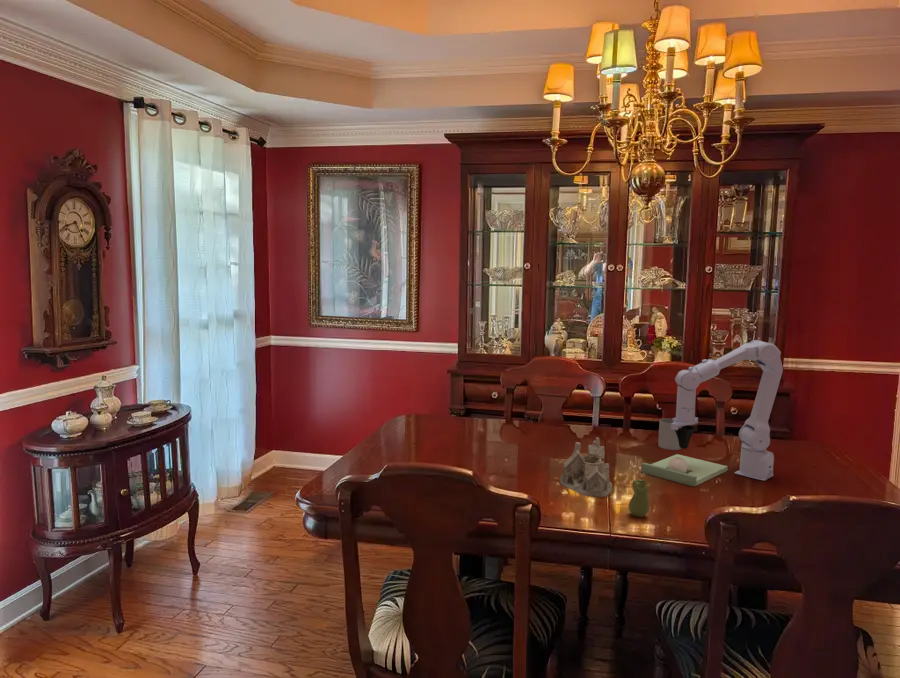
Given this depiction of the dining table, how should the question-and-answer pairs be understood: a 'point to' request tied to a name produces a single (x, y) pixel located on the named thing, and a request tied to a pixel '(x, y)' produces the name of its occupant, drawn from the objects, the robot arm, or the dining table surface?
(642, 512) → the pear
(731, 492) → the dining table surface
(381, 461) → the dining table surface
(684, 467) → the golf ball
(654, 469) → the putting mat
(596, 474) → the ceramic cottage
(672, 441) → the cup
